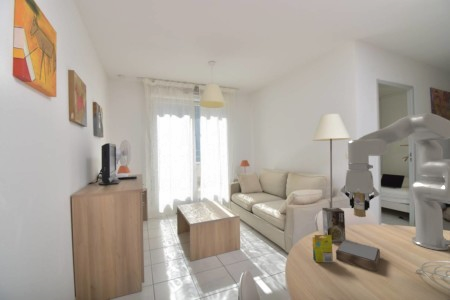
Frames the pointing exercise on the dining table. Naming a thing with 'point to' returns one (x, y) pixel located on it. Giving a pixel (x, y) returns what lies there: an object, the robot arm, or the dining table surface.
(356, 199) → the spice jar
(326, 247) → the crayon box
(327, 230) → the coffee box
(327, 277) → the dining table surface
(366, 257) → the walnut plinth
